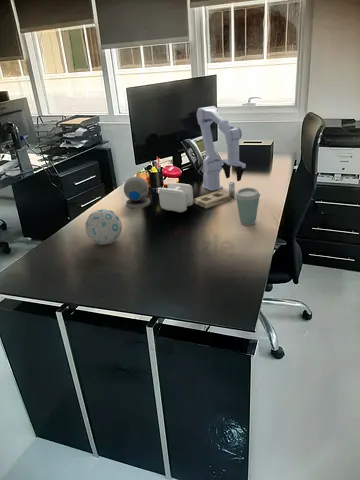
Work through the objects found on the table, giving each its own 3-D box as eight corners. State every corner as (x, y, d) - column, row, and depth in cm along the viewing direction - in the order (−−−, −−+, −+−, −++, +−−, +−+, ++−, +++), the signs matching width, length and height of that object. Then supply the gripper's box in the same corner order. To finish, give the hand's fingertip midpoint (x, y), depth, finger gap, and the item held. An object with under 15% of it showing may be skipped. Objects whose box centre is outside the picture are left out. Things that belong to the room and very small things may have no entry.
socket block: (194, 203, 189) (194, 198, 187) (217, 195, 196) (217, 190, 195) (206, 208, 181) (206, 203, 180) (230, 200, 189) (230, 195, 188)
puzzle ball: (90, 253, 148) (82, 220, 141) (88, 238, 161) (81, 207, 154) (126, 246, 151) (121, 213, 144) (121, 232, 164) (116, 201, 157)
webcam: (152, 199, 199) (148, 172, 192) (148, 208, 187) (144, 180, 181) (129, 200, 200) (125, 173, 193) (123, 209, 189) (119, 181, 182)
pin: (227, 197, 192) (227, 183, 188) (232, 196, 194) (231, 181, 190) (231, 199, 190) (231, 184, 186) (235, 197, 191) (235, 183, 188)
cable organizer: (195, 206, 185) (194, 184, 179) (184, 214, 177) (183, 191, 172) (170, 202, 192) (168, 181, 187) (159, 209, 184) (157, 188, 179)
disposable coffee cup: (259, 227, 157) (260, 195, 150) (234, 227, 160) (234, 195, 153) (259, 217, 167) (260, 186, 160) (235, 217, 169) (235, 187, 162)
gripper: (217, 152, 183) (217, 178, 189) (239, 157, 173) (238, 184, 179) (226, 149, 187) (227, 175, 193) (248, 153, 177) (248, 180, 183)
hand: (233, 179), depth 186 cm, fingers open, 7 cm apart
